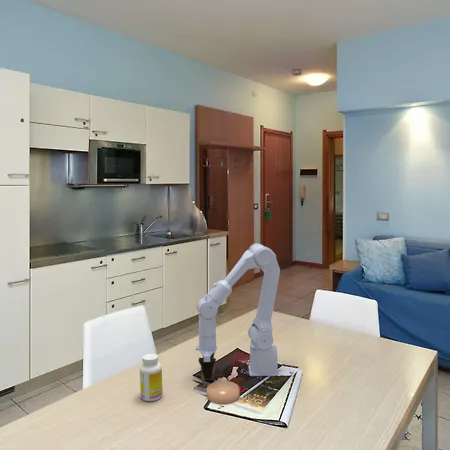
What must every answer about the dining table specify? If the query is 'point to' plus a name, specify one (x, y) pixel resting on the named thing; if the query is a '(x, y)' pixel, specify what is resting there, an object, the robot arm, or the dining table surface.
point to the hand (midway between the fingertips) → (208, 373)
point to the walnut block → (212, 373)
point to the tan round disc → (222, 392)
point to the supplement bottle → (151, 378)
